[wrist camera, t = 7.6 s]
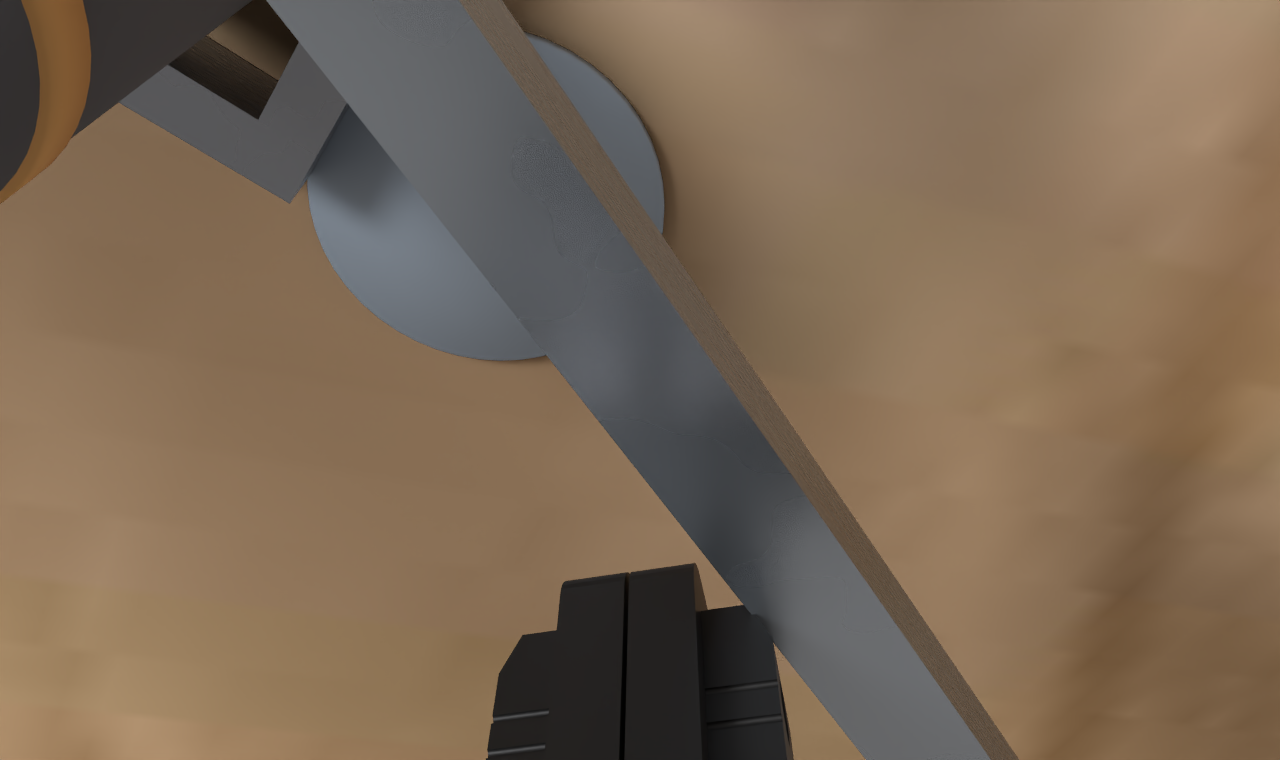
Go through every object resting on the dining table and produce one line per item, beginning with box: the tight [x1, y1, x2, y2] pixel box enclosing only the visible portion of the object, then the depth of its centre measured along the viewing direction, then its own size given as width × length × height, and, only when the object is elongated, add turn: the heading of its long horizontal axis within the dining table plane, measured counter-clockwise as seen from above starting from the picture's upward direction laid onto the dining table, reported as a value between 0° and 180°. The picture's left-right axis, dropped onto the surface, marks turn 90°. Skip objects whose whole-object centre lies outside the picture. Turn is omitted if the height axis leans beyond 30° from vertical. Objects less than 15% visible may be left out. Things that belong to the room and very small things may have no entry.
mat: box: [307, 31, 664, 361], centre depth 25 cm, size 8×8×1 cm
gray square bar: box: [266, 0, 1019, 760], centre depth 9 cm, size 20×3×3 cm, turn 32°
